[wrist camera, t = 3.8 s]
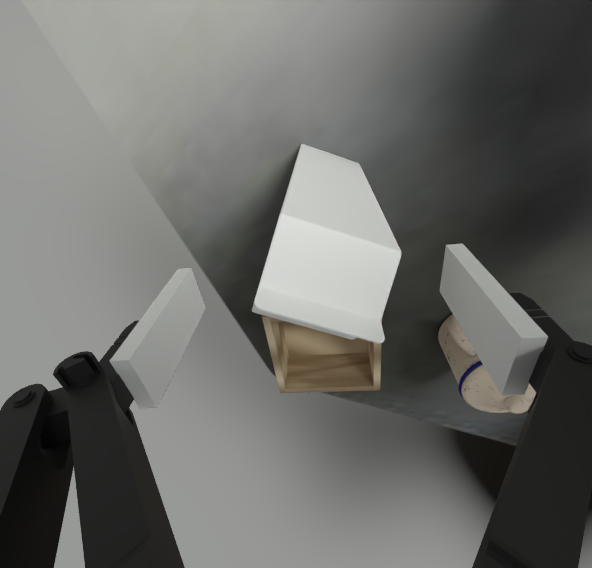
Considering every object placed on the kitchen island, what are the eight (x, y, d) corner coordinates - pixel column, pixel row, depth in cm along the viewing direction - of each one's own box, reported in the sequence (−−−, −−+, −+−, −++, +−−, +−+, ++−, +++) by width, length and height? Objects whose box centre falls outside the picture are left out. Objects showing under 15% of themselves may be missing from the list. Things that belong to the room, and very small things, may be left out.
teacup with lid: (524, 329, 40) (590, 409, 30) (461, 364, 44) (501, 444, 34) (470, 275, 36) (525, 346, 26) (406, 319, 40) (434, 395, 30)
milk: (337, 218, 33) (358, 389, 15) (283, 200, 33) (237, 358, 14) (360, 161, 30) (423, 292, 12) (300, 141, 29) (269, 246, 11)
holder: (269, 284, 39) (261, 317, 33) (373, 276, 37) (382, 309, 32) (284, 356, 45) (280, 393, 40) (372, 352, 44) (380, 390, 38)
